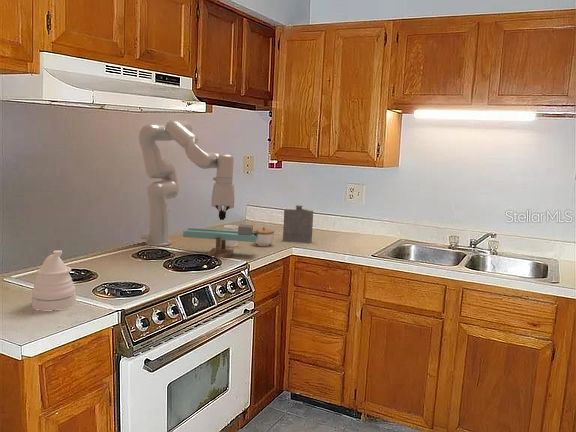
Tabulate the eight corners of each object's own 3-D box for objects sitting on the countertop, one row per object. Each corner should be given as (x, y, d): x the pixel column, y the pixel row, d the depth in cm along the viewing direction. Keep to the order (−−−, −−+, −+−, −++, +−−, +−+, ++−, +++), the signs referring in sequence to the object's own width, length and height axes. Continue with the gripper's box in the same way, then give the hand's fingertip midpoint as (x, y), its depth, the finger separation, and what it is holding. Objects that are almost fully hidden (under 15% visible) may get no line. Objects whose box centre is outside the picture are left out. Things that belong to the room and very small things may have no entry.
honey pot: (84, 301, 170) (83, 248, 167) (55, 314, 158) (53, 257, 155) (53, 296, 174) (51, 244, 171) (22, 307, 162) (20, 252, 159)
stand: (207, 256, 238) (207, 237, 237) (213, 250, 251) (213, 232, 249) (228, 258, 237) (228, 238, 236) (233, 251, 250) (234, 233, 249)
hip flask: (282, 241, 280) (283, 204, 277) (283, 239, 284) (285, 203, 281) (311, 243, 278) (313, 206, 274) (312, 241, 282) (314, 205, 278)
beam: (182, 239, 239) (183, 228, 238) (188, 235, 249) (188, 225, 248) (255, 244, 237) (255, 233, 236) (258, 240, 247) (258, 230, 246)
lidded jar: (271, 247, 262) (271, 229, 261) (250, 246, 264) (251, 228, 263) (275, 243, 273) (275, 226, 271) (255, 242, 274) (256, 224, 273)
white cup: (221, 244, 266) (221, 225, 264) (236, 243, 269) (236, 224, 267) (225, 247, 259) (225, 228, 257) (240, 246, 261) (240, 227, 260)
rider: (237, 236, 239) (238, 226, 238) (240, 233, 245) (240, 224, 244) (250, 237, 238) (251, 227, 237) (252, 234, 244) (253, 225, 243)
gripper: (206, 180, 235) (204, 219, 239) (238, 183, 234) (236, 222, 238) (210, 178, 243) (208, 216, 246) (241, 181, 242) (239, 219, 245)
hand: (222, 219), depth 242 cm, fingers closed
